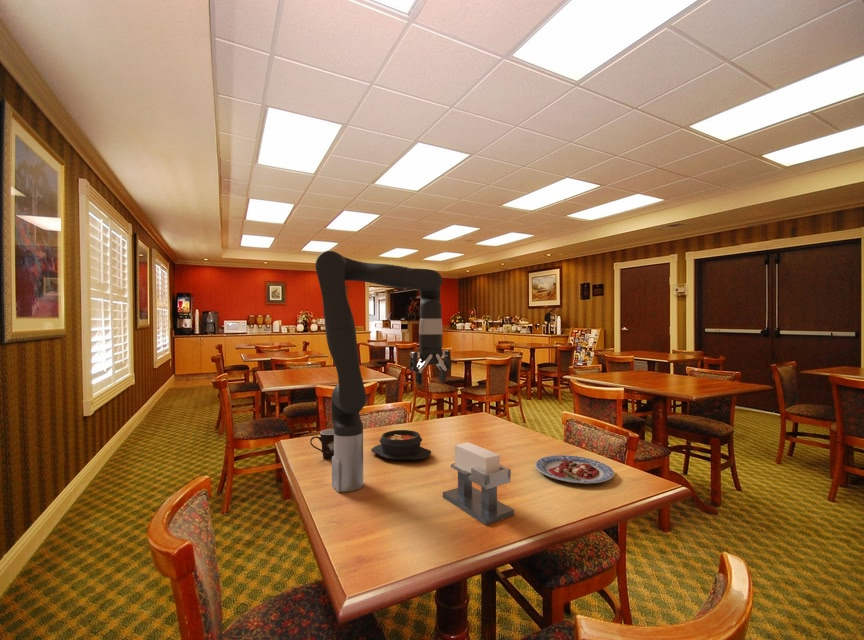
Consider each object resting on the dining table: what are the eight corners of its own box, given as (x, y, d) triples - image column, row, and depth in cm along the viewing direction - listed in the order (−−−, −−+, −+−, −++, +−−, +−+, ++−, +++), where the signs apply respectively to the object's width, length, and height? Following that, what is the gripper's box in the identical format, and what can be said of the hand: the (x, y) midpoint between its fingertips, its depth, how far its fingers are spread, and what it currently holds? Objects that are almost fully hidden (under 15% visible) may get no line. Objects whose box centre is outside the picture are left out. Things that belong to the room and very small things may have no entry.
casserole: (439, 453, 158) (439, 432, 158) (416, 468, 142) (416, 445, 142) (387, 444, 170) (387, 425, 170) (361, 458, 153) (361, 436, 154)
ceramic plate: (552, 456, 155) (552, 448, 155) (622, 471, 139) (622, 463, 139) (522, 476, 135) (522, 467, 135) (600, 496, 119) (600, 486, 119)
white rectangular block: (485, 480, 106) (485, 458, 106) (455, 465, 117) (454, 445, 117) (499, 476, 108) (499, 455, 108) (468, 461, 120) (468, 442, 120)
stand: (485, 525, 102) (485, 477, 102) (442, 497, 118) (442, 455, 118) (514, 515, 107) (513, 469, 107) (468, 489, 124) (468, 449, 124)
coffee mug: (345, 453, 158) (345, 429, 158) (338, 461, 149) (338, 435, 150) (317, 453, 159) (317, 428, 159) (309, 460, 151) (309, 434, 151)
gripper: (442, 332, 133) (442, 380, 133) (405, 333, 125) (405, 383, 125) (455, 332, 127) (455, 383, 127) (417, 333, 119) (417, 387, 119)
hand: (430, 383), depth 126 cm, fingers open, 8 cm apart
